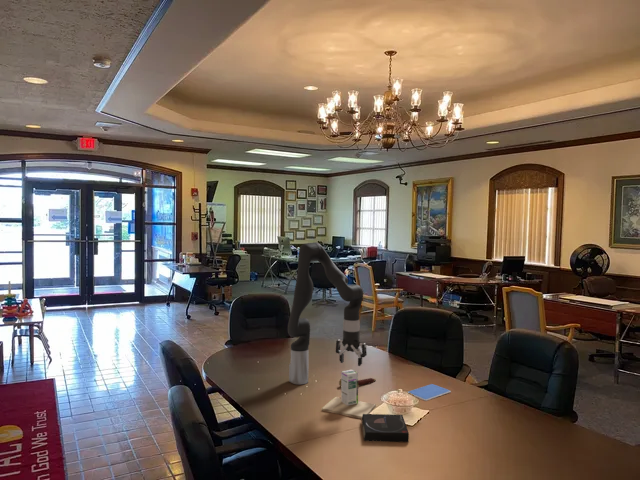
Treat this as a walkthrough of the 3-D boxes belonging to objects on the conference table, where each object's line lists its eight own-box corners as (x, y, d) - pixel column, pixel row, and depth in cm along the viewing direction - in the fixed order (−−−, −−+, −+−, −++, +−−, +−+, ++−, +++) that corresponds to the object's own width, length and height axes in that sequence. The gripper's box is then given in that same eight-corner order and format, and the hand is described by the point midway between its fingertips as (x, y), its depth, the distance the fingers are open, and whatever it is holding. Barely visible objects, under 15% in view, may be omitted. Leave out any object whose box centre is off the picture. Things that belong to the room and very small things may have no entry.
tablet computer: (425, 402, 215) (425, 399, 215) (405, 394, 225) (405, 391, 225) (451, 393, 227) (451, 390, 227) (431, 385, 237) (431, 383, 237)
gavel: (369, 372, 246) (382, 378, 238) (368, 381, 246) (382, 386, 238) (339, 378, 233) (352, 384, 225) (338, 387, 233) (351, 393, 225)
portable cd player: (361, 423, 193) (361, 413, 192) (402, 424, 192) (402, 414, 192) (363, 442, 176) (364, 432, 176) (408, 443, 176) (408, 433, 176)
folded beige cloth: (321, 410, 204) (321, 408, 204) (335, 398, 217) (335, 396, 217) (364, 419, 195) (364, 417, 195) (375, 406, 209) (375, 404, 209)
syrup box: (347, 406, 206) (347, 374, 206) (340, 401, 211) (341, 370, 211) (358, 403, 209) (358, 372, 208) (351, 399, 214) (351, 368, 213)
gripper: (333, 328, 208) (333, 364, 209) (363, 332, 202) (362, 369, 203) (340, 325, 215) (339, 359, 216) (369, 329, 208) (368, 364, 209)
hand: (350, 364), depth 209 cm, fingers open, 8 cm apart
